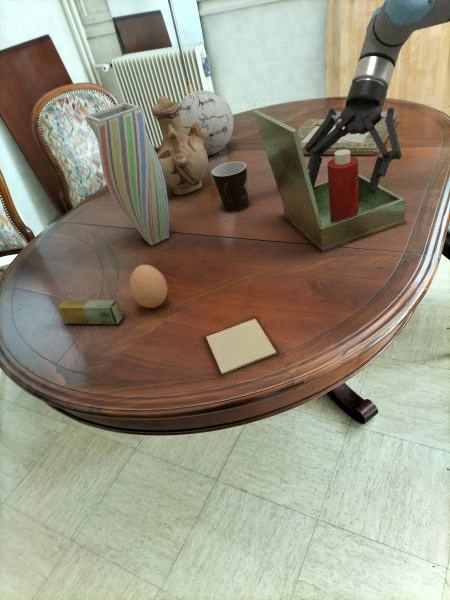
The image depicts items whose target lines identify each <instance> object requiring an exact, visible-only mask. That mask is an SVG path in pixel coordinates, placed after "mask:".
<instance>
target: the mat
mask: <svg viewBox="0 0 450 600" xmlns="http://www.w3.org/2000/svg"><path fill="white" fill-rule="evenodd" d="M205 339H206V341H207V343H208V345H209V347H210V350H211V352H212V355H213V356H214V359H215V361H216V363H217V367H218V368H219V370H220V373H221V375H225V374H227V373H230V372H232V371H235V370H238V369H240V368H243V367H245V366H248V365H250V364H253V363H255V362H258V361H261V360H263V359H266V358H269V357H271V356H274V355H276V354H277V351H276V350H275V348H274V346H273V344H272V343H271V342H270V339H269V338H268V336H267V335H266V333H265V332H264V330H263V329H262V326H261V325H260V323H259V321H258V320H257V319H256V318H253V319H250V320H248V321H245V322H242V323H239V324H237V325H234V326H232V327H229V328H225V329H223V330H221V331H218V332H216V333H213V334H209V335H207V336H205Z"/></svg>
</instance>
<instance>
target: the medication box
mask: <svg viewBox="0 0 450 600" xmlns="http://www.w3.org/2000/svg"><path fill="white" fill-rule="evenodd" d="M57 310H58V312H59V314H60V316H61V319H62V321H63V324H75V325H76V324H77V325H80V324H81V325H119V324H120V323H121V322H122V320H123V318H124V316H123V312H122V310H121V308H120V304H119V302H118V299H84V300H83V299H82V300H81V299H80V300H77V299H76V300H75V299H73V300H69V299H68V300H65V299H64V300H63V301H62V302H61V303H60V304H59V305H58V306H57Z"/></svg>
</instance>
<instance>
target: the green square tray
mask: <svg viewBox="0 0 450 600" xmlns="http://www.w3.org/2000/svg"><path fill="white" fill-rule="evenodd" d="M370 180H371V179H369V178H367V177H365V176H363V175H362V174H359V173H358V208H359V214H356V215H353V216H350V217H348V218H345V219H342V220H339V221H335V220H333V219H331V217H330V204H329V185H328V180H326V181H322V182H320V183H315V186H314V188H312V189H313V192H314V196H315V200H316V204H317V207H318V211H319V215H320V219H321V222H322V226H321V227H317V226H316V225H315V224H314V223H313V222H312V221H310V220H309V219H308V218H307V217H306V216H304V215H303V214H302V213H301V212H300V211H298V210H297V209H296V208H295V207H294V206H293V205H291V204H290V203H289V202H288V201H287V200H285V199H284V198H283V197H282V196H281V201H282V208H283V217H284V218H285V219H286V220H287V221H288V222H289V223H290V224H292V226H294V227H295V228H296V229H297V230H298V231H299V232H300V233H301V234H302V235H303V236H304V237H306V239H308V240H309V241H310V242H311V243H312V244H313V245H314V246H316V247H317V248H318V250H320V251H321V252H322V253H324V252H326V251H329V250H332V249H334V248H337V247H340V246H343V245H346V244H349V243H352V242H355V241H357V240H360V239H363V238H366V237H368V236H371V235H374V234H376V233H380V232H382V231H385V230H388V229H391V228H393V227H396V226H399V225H402V224H405V213H406V198H404V197H402V196H401V195H399V194H397V193H395V192H393V191H391V190H390V189H388V188H386V187H384V186H383V185H380V184H378V187H377V190H376V193H375V194H371V192H370V191H369V190H368V187H369V183H370Z"/></svg>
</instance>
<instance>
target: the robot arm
mask: <svg viewBox="0 0 450 600" xmlns="http://www.w3.org/2000/svg"><path fill="white" fill-rule="evenodd" d="M448 23H450V0H384V2H383V4H382V5H381V6H380V7H377V8H376V9H375V10H374V11H373V12H372V15H371V17H370V20H369V23H368V24H367V26H366V32H365V36H364V40H363V44H362V47H361V50H360V54H359V57H358V60H357V64H356V66H355V70H354V73H353V76H352V79H351V85H350V87H349V90H348V93H347V97H346V100H345V106H344V108H343V109H342V111H338V110H337V111H336V110H335V109H334V108H330V109H329V110H328V112H327V115H326V117H325V118H324V119H325V120H324V122H323V123H322V124H321V126H320V127H319V128H318V130H317V131H316V132H315V134H314V135H313V136H312V137H311V139H310V140H309V141H308V143H307V144H306V145H305V147H304V149H305V150H306V151H307V152H308V153H309V154H308V155H309V159H308V163H307V165H306V166H307V170H308V173H309V177H310V181H311V185H312V188H314V186H315V185H316V182H317V179H318V176H319V171H320V169H321V166H322V162H323V158H322V155H324V154H323V153H324V152H325V151H327V150H328V149H329V148H330V147H331V146H332V145H333V144H334V143H336V142H337V141H338V140H339V139H340V138H341V137H344V136H346V135H347V134H348V133H350V134H357V133H358V134H363V135H365V133H367V132H370V134H371V136H372V138H373V139H374V141H375V143H376V145H377V147H378V149H379V150H380V151H379V153H380V155H381V156H377V157H376V160H375V164H374V167H373V170H372V173H371V176H370V179H369V180H370V183H369V187H368V190H369V191H370V192H371V194H375V193H376V190H377V187H378V185H379V183H380V179H381V178H384V177H386V175H387V172H388V169H389V166H390V163H391V161H393V160H400V159H401V158H402V157H403V154H402V149H401V145H400V141H399V136H398V131H397V126H396V124H395V122H396V117H397V118H398V116H397V113H396V111H395V109H394V107H389V108H388V109H387V110H383V109H384V105H385V102H386V98H387V96H388V90H389V88H390V85H391V82H392V79H393V75H394V72H395V68H396V65H397V62H398V59H399V55H400V52H401V50H402V47H403V46H404V45H405V44H406V42H407V41H408V40H409V38H410V37H411V35H412V34H413V33H414V32H416V31H419V30H424V29H427V28H432V27H435V26H438V25H439V26H440V25H443V24H448ZM339 119H342V120H341V121H340V122H339V123H338V124H337V125H336V127H335V129H334V130H332V131H331V129H332V128H333V127H334V125H335V123H337V122H338V120H339ZM381 119H383V120H384V122H385V123H386V124H387V129H388V133H389V136H388V138H389V142H390V147H391V150H388V149H387V147H386V145H385V143H383V141H382V140H381V138H380V136H379V134H378V132H377V130H376V129H375V127H374V126H375V125H376V124H377V123H378V122H379V121H380V120H381ZM343 127H345V128H344V129H342V128H343ZM330 131H331V132H330ZM329 132H330V133H329ZM328 133H329V134H328Z"/></svg>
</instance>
